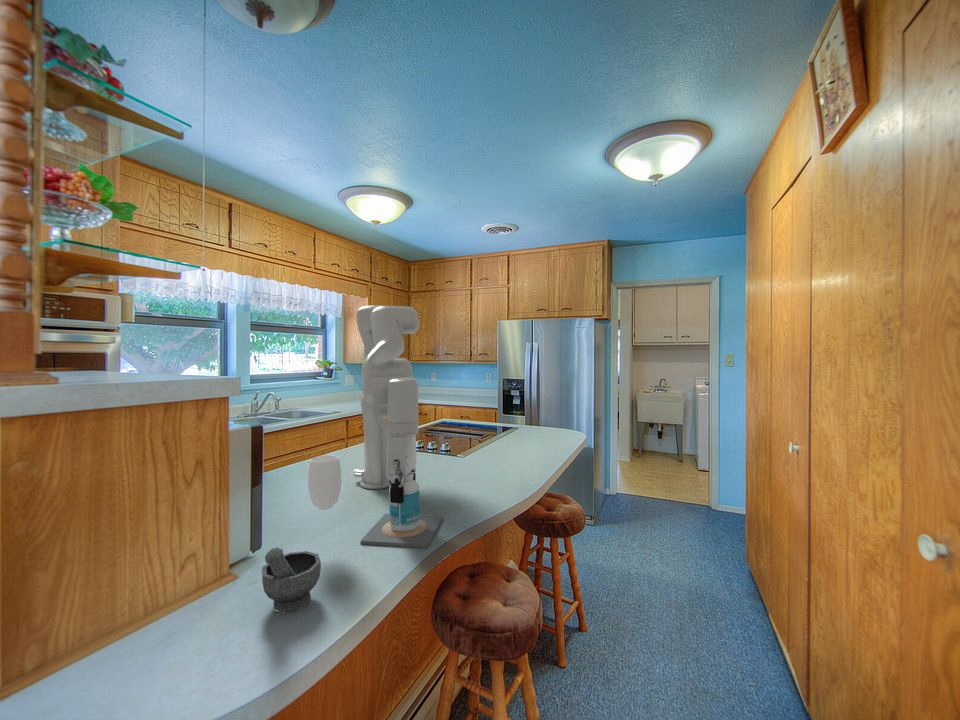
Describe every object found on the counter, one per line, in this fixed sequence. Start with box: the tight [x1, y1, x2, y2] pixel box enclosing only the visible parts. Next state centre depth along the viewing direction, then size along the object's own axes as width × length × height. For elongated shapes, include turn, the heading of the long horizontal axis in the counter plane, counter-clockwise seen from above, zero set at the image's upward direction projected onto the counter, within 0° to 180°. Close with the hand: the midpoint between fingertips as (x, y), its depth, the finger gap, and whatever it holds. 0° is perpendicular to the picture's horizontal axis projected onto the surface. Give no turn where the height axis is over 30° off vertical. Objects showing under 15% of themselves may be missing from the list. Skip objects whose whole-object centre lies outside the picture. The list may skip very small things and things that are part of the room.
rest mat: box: [360, 512, 444, 549], centre depth 102 cm, size 16×16×1 cm
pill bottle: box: [388, 472, 421, 532], centre depth 102 cm, size 8×7×14 cm
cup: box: [307, 454, 342, 511], centre depth 93 cm, size 7×7×21 cm
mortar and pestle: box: [261, 546, 322, 614], centre depth 73 cm, size 11×9×12 cm
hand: (403, 494), depth 102 cm, fingers open, 9 cm apart
